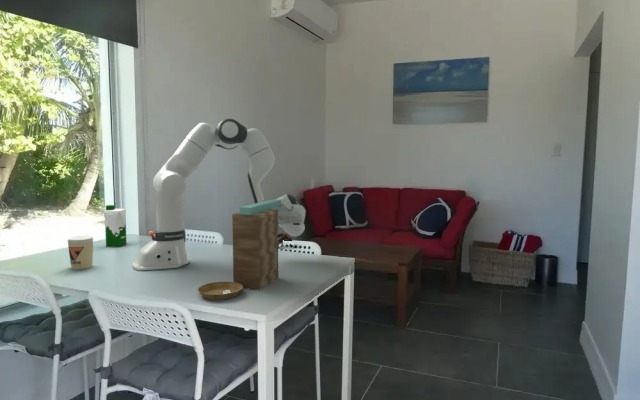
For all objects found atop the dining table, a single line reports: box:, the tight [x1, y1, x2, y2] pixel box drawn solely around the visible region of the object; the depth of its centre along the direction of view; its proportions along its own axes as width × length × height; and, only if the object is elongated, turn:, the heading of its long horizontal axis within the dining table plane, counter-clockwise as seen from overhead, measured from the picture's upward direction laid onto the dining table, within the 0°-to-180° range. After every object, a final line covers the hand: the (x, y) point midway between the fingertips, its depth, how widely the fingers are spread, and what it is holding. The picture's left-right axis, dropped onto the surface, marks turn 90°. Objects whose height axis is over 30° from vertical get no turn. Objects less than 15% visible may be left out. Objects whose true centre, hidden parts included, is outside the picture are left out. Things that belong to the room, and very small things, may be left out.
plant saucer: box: [197, 281, 244, 301], centre depth 156 cm, size 15×15×3 cm
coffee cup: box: [67, 235, 94, 270], centre depth 190 cm, size 9×9×12 cm
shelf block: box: [231, 209, 279, 291], centre depth 169 cm, size 16×10×26 cm, turn 161°
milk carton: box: [103, 204, 127, 248], centre depth 231 cm, size 9×9×20 cm
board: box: [239, 199, 281, 215], centre depth 172 cm, size 26×4×2 cm, turn 161°
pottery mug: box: [278, 231, 294, 246], centre depth 231 cm, size 12×10×8 cm
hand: (272, 202), depth 180 cm, fingers open, 8 cm apart
